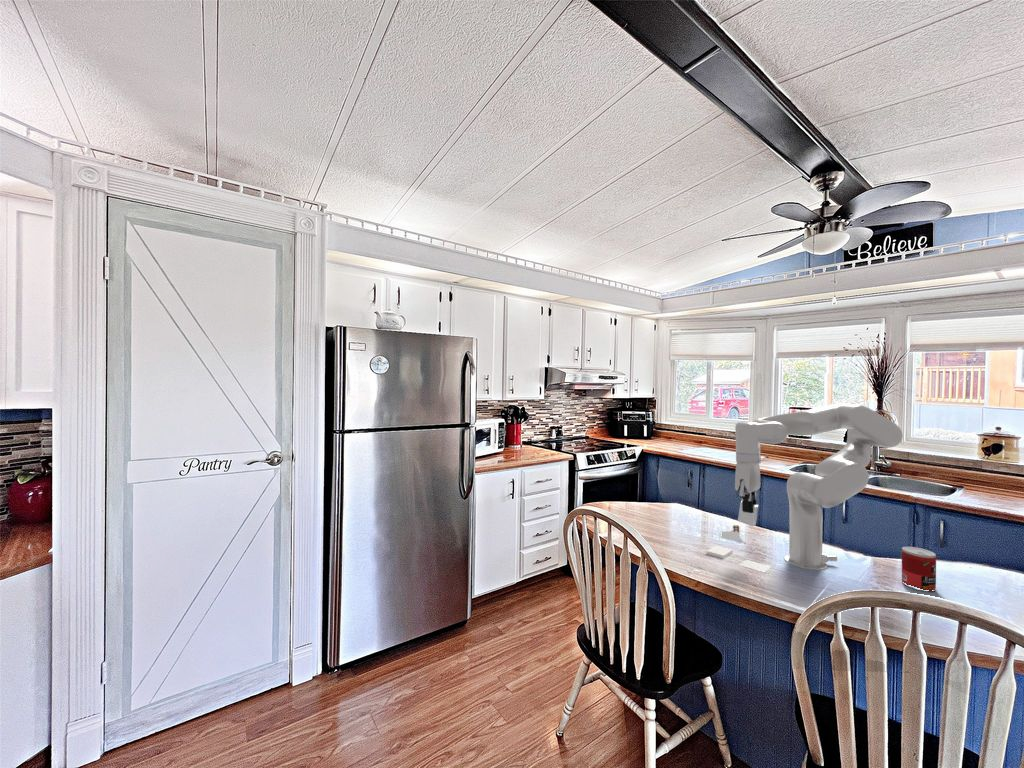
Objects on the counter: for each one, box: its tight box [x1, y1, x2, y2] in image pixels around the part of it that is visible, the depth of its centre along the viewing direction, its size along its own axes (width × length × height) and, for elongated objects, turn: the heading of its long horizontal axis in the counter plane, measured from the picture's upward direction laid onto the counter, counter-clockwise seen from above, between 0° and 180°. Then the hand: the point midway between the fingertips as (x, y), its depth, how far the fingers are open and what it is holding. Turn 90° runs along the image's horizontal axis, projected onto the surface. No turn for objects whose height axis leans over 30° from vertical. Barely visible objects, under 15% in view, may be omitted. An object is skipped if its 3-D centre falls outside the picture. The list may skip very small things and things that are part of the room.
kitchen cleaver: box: [721, 524, 746, 545], centre depth 184 cm, size 24×1×10 cm
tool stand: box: [738, 559, 772, 573], centre depth 150 cm, size 7×8×1 cm
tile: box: [706, 545, 734, 560], centre depth 161 cm, size 1×6×8 cm
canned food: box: [901, 546, 937, 591], centre depth 137 cm, size 8×8×11 cm
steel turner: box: [737, 494, 759, 527], centre depth 153 cm, size 2×5×10 cm, turn 40°
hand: (749, 510), depth 152 cm, fingers closed on steel turner, 2 cm apart
